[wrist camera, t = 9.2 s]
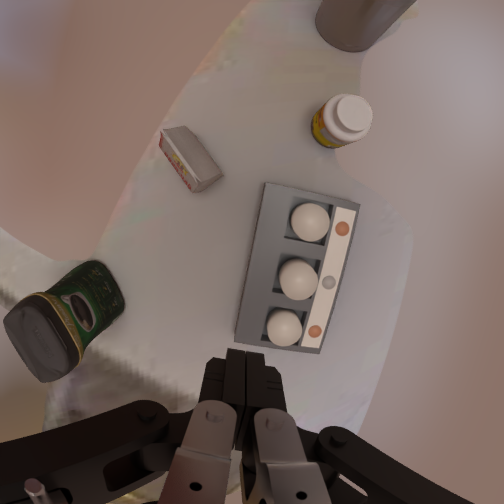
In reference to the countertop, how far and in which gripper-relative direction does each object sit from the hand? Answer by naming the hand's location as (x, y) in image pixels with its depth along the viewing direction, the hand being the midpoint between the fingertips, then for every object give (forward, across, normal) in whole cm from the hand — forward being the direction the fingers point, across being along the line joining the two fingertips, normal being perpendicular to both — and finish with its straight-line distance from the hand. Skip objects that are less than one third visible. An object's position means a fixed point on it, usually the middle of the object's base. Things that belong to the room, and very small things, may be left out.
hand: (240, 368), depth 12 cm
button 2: (+28, -7, -5) cm, 29 cm away
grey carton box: (+29, +8, -9) cm, 32 cm away
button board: (+29, -7, +2) cm, 30 cm away
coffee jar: (+29, +20, +12) cm, 37 cm away
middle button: (+26, -7, +2) cm, 27 cm away
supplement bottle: (+29, -8, -17) cm, 35 cm away
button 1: (+28, -7, +10) cm, 30 cm away
